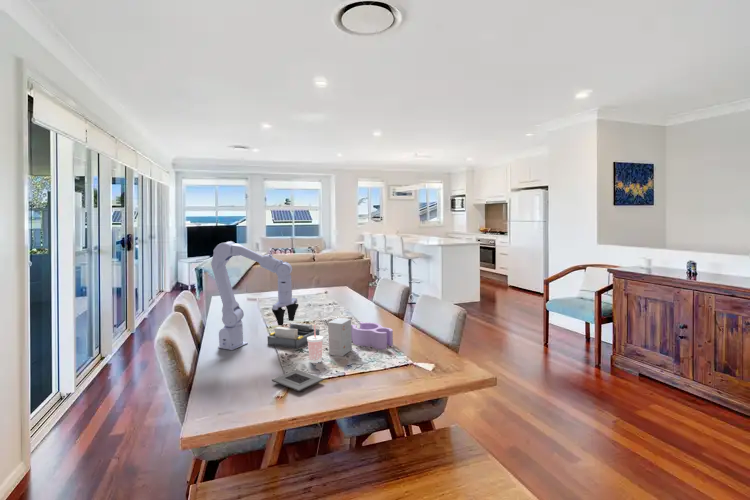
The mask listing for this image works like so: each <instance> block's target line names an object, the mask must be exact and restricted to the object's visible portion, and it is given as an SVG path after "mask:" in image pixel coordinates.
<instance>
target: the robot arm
mask: <svg viewBox="0 0 750 500" xmlns="http://www.w3.org/2000/svg"><path fill="white" fill-rule="evenodd" d="M239 256H240V257H241V256H242V257H245V258H246V259H249V260H251V261H254V262H257V263H258V264H259V266H260V268H263V269H265V270H267V271H269V272H271V273H273V274H274V273H275V274H276V276H277V297H278V299H277V302H276V303H274V304H272V308H271V312H272V314H273V315H274V317H275V319H276V323H277V325H278V326H280V327H283V326H284V320H285V319H284V317H285V313H286V310H287V316H288V317H287V318H288V321H291V322H294V321H295V316H296V312H297V310H298V308H299V303H298V298H297V297H293V286H292V285H293V284H292V274H291V273H292V272H293V266H292V265H291V263H289V262H288V261H284V260H282V259H278V258H276V257H274V256H273V254H264V255H262V254H260V253H258V252H256V251H254V250H252V249H250V248H249V247H246V246H244V245H242V244H240V243H238V242H237V243H235V242H234V241H232V240H230V241H229V240H228V241H226V242H221V243H219V244H217V245H216V246H215V247H214V249H213V254H212V259H211V263H210V265H211V268H212V272H213V277H214V279H215V283H216V285H217V290H218V293H219V297H220V299H221V303H222V308H221V313H222V318H221V320H222V321H221V322H222V324H223V325H224V326H223V327H222V328H221V329H220V330H219V331H218V343H219V346H217V348H219V349H224V350H230V351H233V350H236V349H237V348H240V347H243V346H245V345H248V342H247V341H244V331H243V330H244V328H243V322H242V319H243V318H244V311H243V309H242V308H241V307H240V305H239V303H238V301H237V299H236V298H235V293H234V291H233V287H232V283H231V280H230V277H229V274H228V270H227V263H228V262H229V261H230V259H232V258H233V257H239ZM285 307H286V309H283V308H285Z"/></svg>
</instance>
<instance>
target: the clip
mask: <svg viewBox="0 0 750 500" xmlns="http://www.w3.org/2000/svg"><path fill="white" fill-rule="evenodd" d="M393 332H394V331H393V329H392V328H390V327H384V326H382V325H381V324H380V323H378V322H371V321H370V322H368V321H367V322H364V321H359V328H358V327H357V324H351V338H352V344H354V345H356V346H358V345H359V347H371V346H372V348H374V349H376V348H377V350H387V349H388V346H393V345H394V341H393V340H394V339H393V337H394V336H393V335H394V333H393ZM386 348H387V349H386Z"/></svg>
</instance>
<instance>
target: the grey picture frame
mask: <svg viewBox="0 0 750 500" xmlns="http://www.w3.org/2000/svg"><path fill="white" fill-rule="evenodd" d="M271 381H272V382H274V383H276V384H279V385H281V386H284V387H287V388H289V389H291V390H294V391H296V392H301V391H304V390H305V389H308V388H310V387H312V386H314V385H317V384H319V383H321V382H323V381H324V378H322V377H320V376H317V375H313V374H311V373H308V372H305V371H301V370H299V369H294V370H292V371H289V372H287V373H284V374H282V375H280V376H278V377H275V378H273V379H271Z"/></svg>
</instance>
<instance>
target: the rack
mask: <svg viewBox="0 0 750 500" xmlns="http://www.w3.org/2000/svg"><path fill="white" fill-rule="evenodd" d="M289 324H290V325H289V327H287V328H292V329H298V338H297V340H295V339H288V338H281V337H275V331H274V332H271V333H270V334H269V335H268V336H267V345H268V346H274V347H275V346H276V347H282V348H288V349H289V348H290V349H295V350H298V349H300V348H302V347H303V346H305V345H308V341H307V337H309V336H313V335H314V328H313V325H312V324H311V323H310V324H308V323H303V322H294V321H292V322H291V323H289ZM315 330H316V335H319V336H320V329H318V328H315Z"/></svg>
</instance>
